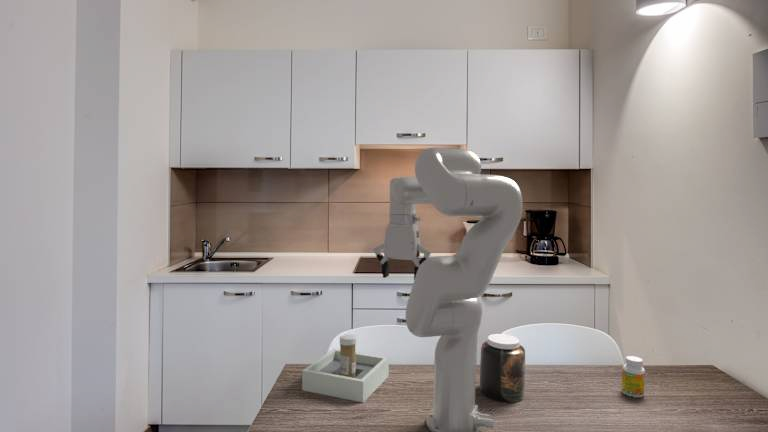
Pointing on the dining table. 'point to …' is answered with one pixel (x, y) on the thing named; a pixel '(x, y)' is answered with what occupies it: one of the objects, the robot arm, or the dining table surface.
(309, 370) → the open box
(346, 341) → the sprinkles bottle
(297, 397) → the dining table surface
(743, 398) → the dining table surface
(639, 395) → the supplement bottle
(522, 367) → the jar
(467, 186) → the robot arm
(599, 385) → the dining table surface
